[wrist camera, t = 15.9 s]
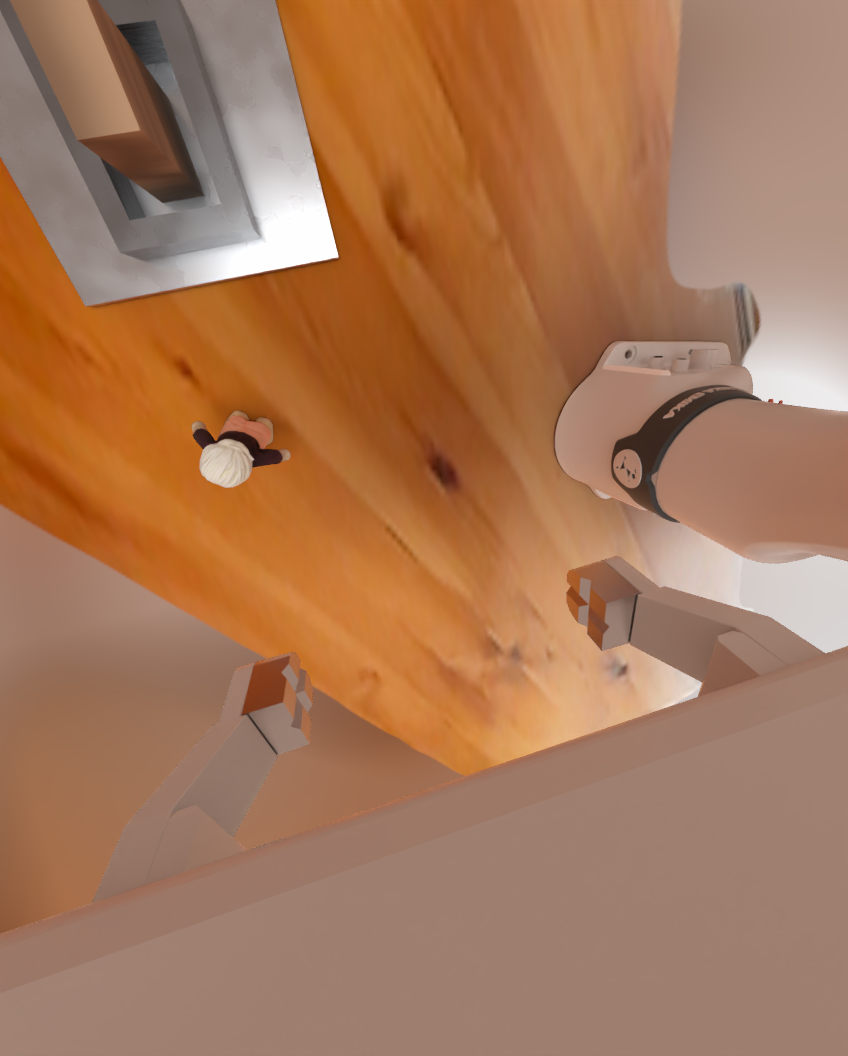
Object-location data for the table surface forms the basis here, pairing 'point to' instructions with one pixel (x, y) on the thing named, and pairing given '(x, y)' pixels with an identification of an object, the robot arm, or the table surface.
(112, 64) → the walnut wedge
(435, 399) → the table surface
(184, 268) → the grey socket base
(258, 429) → the grandmother figurine
